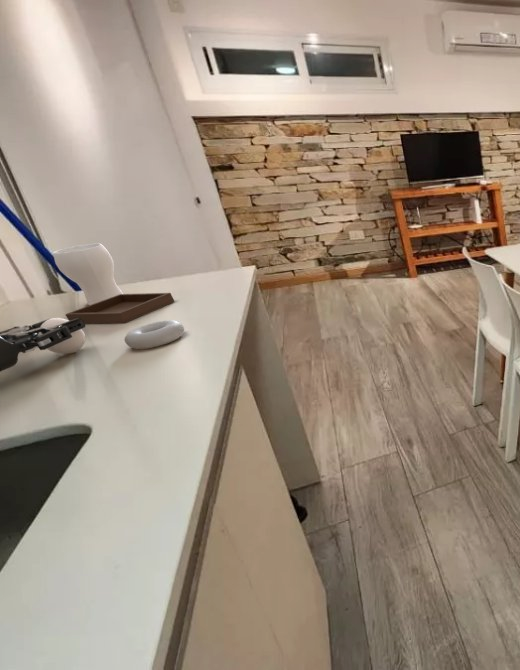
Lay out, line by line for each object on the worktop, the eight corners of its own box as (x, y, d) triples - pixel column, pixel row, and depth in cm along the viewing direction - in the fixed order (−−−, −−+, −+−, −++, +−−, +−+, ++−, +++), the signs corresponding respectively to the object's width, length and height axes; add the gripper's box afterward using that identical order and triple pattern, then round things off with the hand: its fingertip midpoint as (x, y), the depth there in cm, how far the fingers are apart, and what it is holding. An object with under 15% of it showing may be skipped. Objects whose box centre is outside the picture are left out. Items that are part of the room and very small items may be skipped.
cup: (132, 290, 139) (106, 240, 133) (130, 299, 132) (102, 247, 125) (83, 301, 133) (53, 249, 127) (78, 311, 126) (46, 256, 119)
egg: (83, 355, 100) (62, 321, 97) (44, 362, 98) (21, 327, 94) (97, 343, 105) (79, 310, 102) (60, 349, 103) (40, 316, 100)
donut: (140, 356, 98) (195, 335, 105) (131, 341, 96) (188, 321, 104) (122, 347, 103) (175, 328, 110) (113, 333, 101) (168, 314, 109)
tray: (70, 323, 118) (64, 314, 116) (124, 302, 130) (120, 294, 129) (125, 322, 116) (119, 313, 115) (174, 301, 128) (170, 292, 127)
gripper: (-13, 342, 84) (88, 305, 99) (-79, 343, 85) (30, 306, 100) (13, 378, 87) (107, 337, 102) (-51, 378, 89) (50, 338, 104)
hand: (68, 322), depth 101 cm, fingers closed on egg, 6 cm apart
